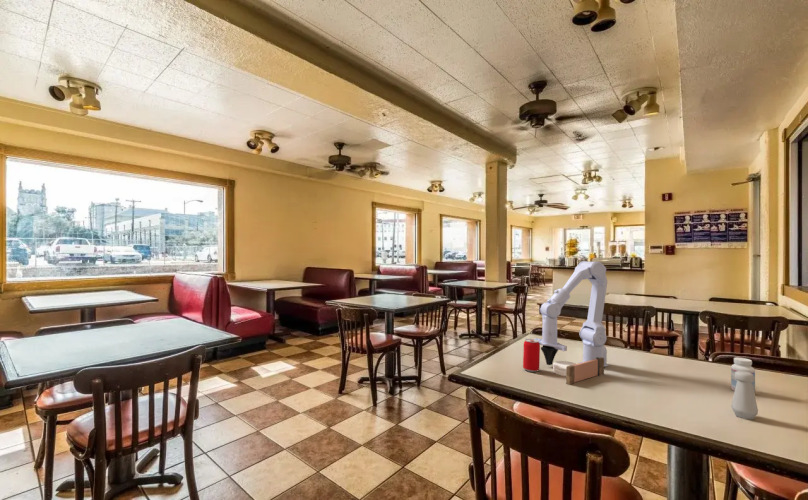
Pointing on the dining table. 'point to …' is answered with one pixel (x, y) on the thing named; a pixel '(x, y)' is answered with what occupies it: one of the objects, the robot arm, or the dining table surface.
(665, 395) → the dining table surface
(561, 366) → the white short cylinder
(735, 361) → the pill bottle
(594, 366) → the door
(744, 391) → the salt shaker
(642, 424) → the dining table surface
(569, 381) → the wall frame
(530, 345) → the beverage can
